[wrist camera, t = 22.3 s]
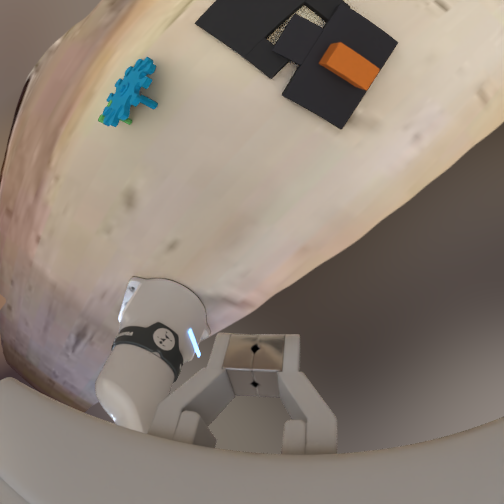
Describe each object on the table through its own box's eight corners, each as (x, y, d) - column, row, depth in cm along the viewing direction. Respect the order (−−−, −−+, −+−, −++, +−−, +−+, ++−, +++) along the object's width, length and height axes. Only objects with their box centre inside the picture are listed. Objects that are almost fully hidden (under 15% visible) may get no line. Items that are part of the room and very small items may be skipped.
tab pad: (338, 126, 31) (351, 139, 27) (254, 81, 28) (252, 84, 24) (393, 42, 23) (414, 42, 19) (310, -11, 20) (319, -22, 16)
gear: (149, 42, 26) (144, 87, 24) (181, 63, 31) (183, 111, 29) (100, 92, 32) (90, 143, 29) (130, 107, 36) (126, 157, 34)
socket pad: (271, 78, 29) (270, 78, 28) (198, 25, 26) (194, 23, 25) (348, 9, 22) (350, 6, 21) (272, -43, 19) (271, -48, 18)
